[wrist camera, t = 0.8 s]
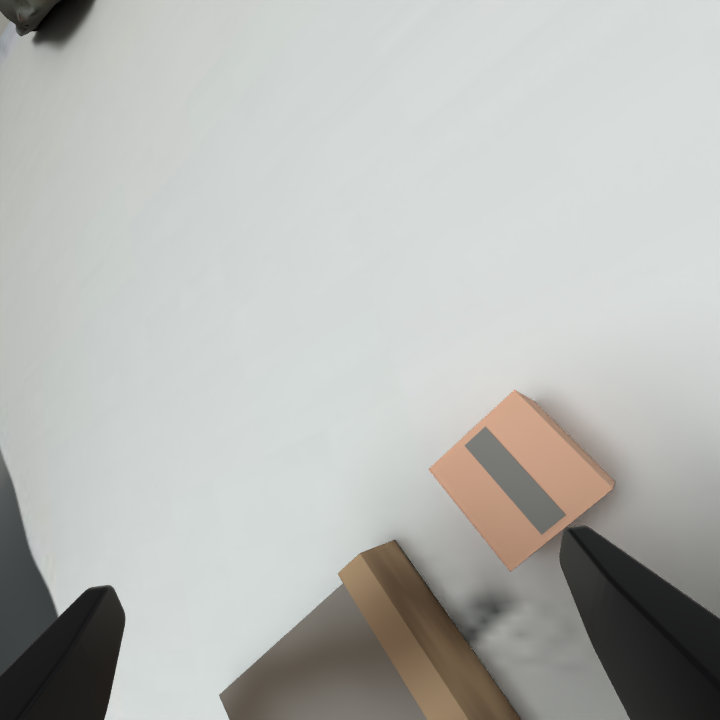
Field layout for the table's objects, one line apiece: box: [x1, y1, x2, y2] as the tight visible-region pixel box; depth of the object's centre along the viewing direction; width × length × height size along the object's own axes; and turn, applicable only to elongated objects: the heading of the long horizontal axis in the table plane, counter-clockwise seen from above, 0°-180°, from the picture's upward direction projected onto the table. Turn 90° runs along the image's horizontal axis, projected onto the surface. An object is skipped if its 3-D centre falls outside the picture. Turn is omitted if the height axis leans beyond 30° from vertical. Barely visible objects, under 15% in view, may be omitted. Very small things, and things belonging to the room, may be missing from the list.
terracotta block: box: [429, 390, 615, 572], centre depth 21 cm, size 5×5×5 cm
